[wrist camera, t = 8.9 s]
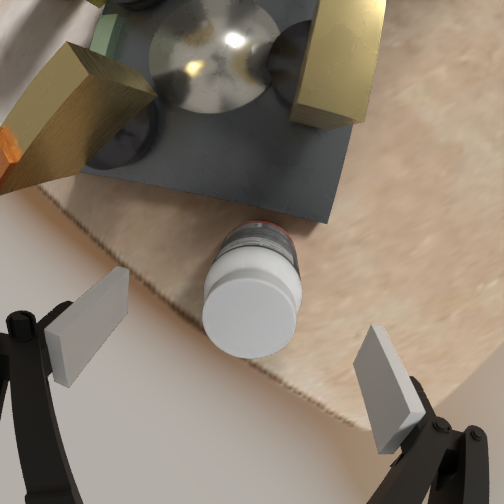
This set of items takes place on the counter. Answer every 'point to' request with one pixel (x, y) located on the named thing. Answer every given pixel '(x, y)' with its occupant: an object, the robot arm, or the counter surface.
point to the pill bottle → (253, 291)
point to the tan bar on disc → (76, 120)
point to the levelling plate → (223, 105)
